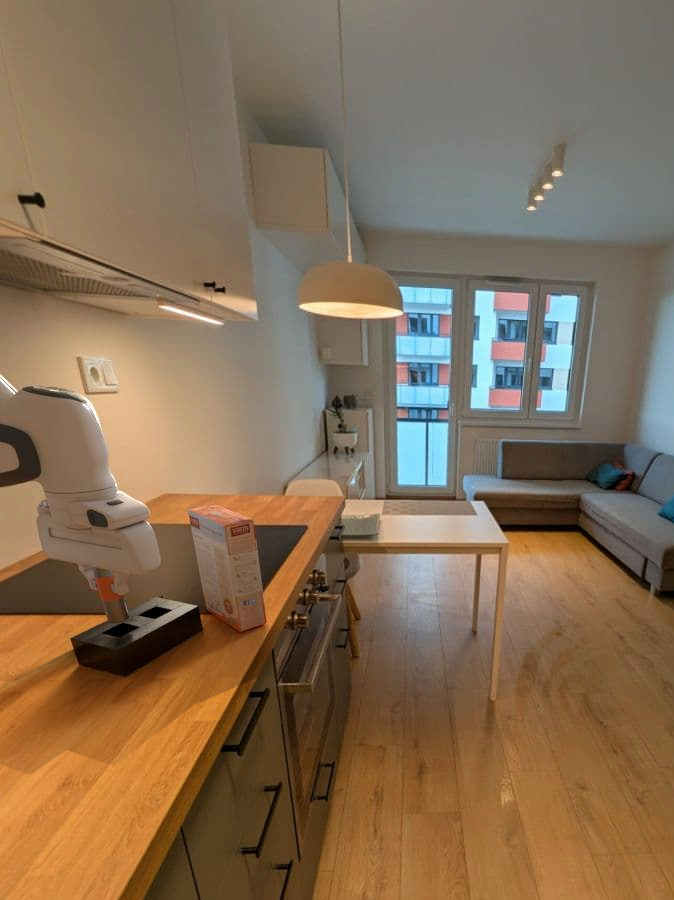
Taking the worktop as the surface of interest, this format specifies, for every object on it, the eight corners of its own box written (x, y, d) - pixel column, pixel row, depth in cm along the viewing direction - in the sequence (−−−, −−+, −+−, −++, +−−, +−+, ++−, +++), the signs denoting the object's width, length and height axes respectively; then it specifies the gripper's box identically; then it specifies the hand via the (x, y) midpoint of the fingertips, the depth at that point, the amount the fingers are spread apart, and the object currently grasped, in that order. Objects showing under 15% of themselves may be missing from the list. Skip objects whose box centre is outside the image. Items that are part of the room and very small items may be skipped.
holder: (78, 664, 83) (69, 638, 81) (161, 620, 97) (155, 596, 95) (125, 677, 80) (117, 650, 78) (203, 629, 95) (198, 605, 93)
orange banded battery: (102, 621, 82) (78, 540, 76) (119, 613, 85) (97, 534, 79) (117, 625, 81) (94, 543, 75) (134, 616, 84) (112, 537, 78)
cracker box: (269, 623, 98) (255, 518, 89) (239, 634, 94) (221, 525, 85) (233, 601, 106) (217, 502, 97) (205, 610, 102) (185, 508, 93)
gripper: (13, 502, 75) (42, 588, 81) (120, 519, 69) (143, 609, 75) (55, 493, 80) (80, 574, 86) (157, 508, 75) (176, 593, 81)
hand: (110, 591), depth 81 cm, fingers closed on orange banded battery, 3 cm apart
